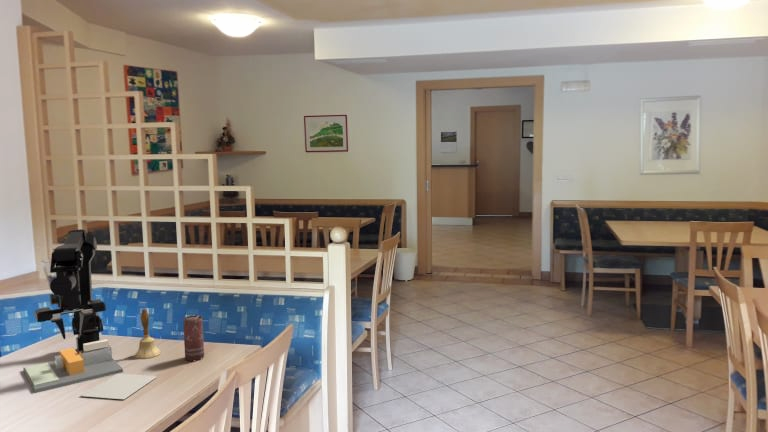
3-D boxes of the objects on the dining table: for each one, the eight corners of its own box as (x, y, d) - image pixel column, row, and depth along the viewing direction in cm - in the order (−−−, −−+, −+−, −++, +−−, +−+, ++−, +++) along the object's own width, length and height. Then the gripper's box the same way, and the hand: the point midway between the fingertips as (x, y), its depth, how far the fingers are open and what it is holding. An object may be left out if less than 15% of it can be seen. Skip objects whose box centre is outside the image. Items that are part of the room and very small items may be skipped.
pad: (47, 363, 187) (47, 362, 187) (59, 380, 173) (59, 379, 173) (24, 368, 183) (24, 367, 183) (34, 385, 169) (34, 384, 169)
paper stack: (186, 380, 176) (186, 378, 176) (137, 417, 151) (137, 415, 151) (117, 375, 180) (117, 373, 180) (58, 411, 155) (58, 408, 155)
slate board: (104, 353, 199) (104, 350, 199) (123, 371, 182) (122, 368, 182) (23, 370, 184) (23, 367, 183) (35, 392, 167) (35, 389, 167)
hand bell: (136, 360, 192) (133, 313, 190) (133, 353, 199) (130, 308, 197) (162, 356, 196) (160, 310, 194) (158, 348, 203) (156, 304, 201)
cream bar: (106, 345, 190) (106, 339, 190) (108, 346, 189) (108, 340, 189) (83, 349, 186) (83, 343, 186) (84, 351, 184) (84, 345, 184)
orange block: (74, 359, 190) (73, 348, 190) (84, 372, 179) (83, 359, 179) (60, 362, 187) (59, 350, 187) (69, 375, 177) (69, 362, 176)
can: (208, 355, 195) (206, 315, 194) (196, 362, 189) (194, 320, 188) (193, 353, 197) (191, 314, 196) (181, 360, 191) (179, 319, 190)
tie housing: (109, 357, 192) (108, 344, 191) (112, 360, 189) (111, 347, 189) (55, 369, 182) (54, 356, 181) (57, 372, 179) (56, 358, 179)
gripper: (95, 279, 189) (98, 325, 191) (29, 288, 177) (33, 337, 179) (104, 284, 180) (107, 333, 182) (35, 294, 169) (40, 346, 170)
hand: (72, 337), depth 179 cm, fingers open, 4 cm apart
